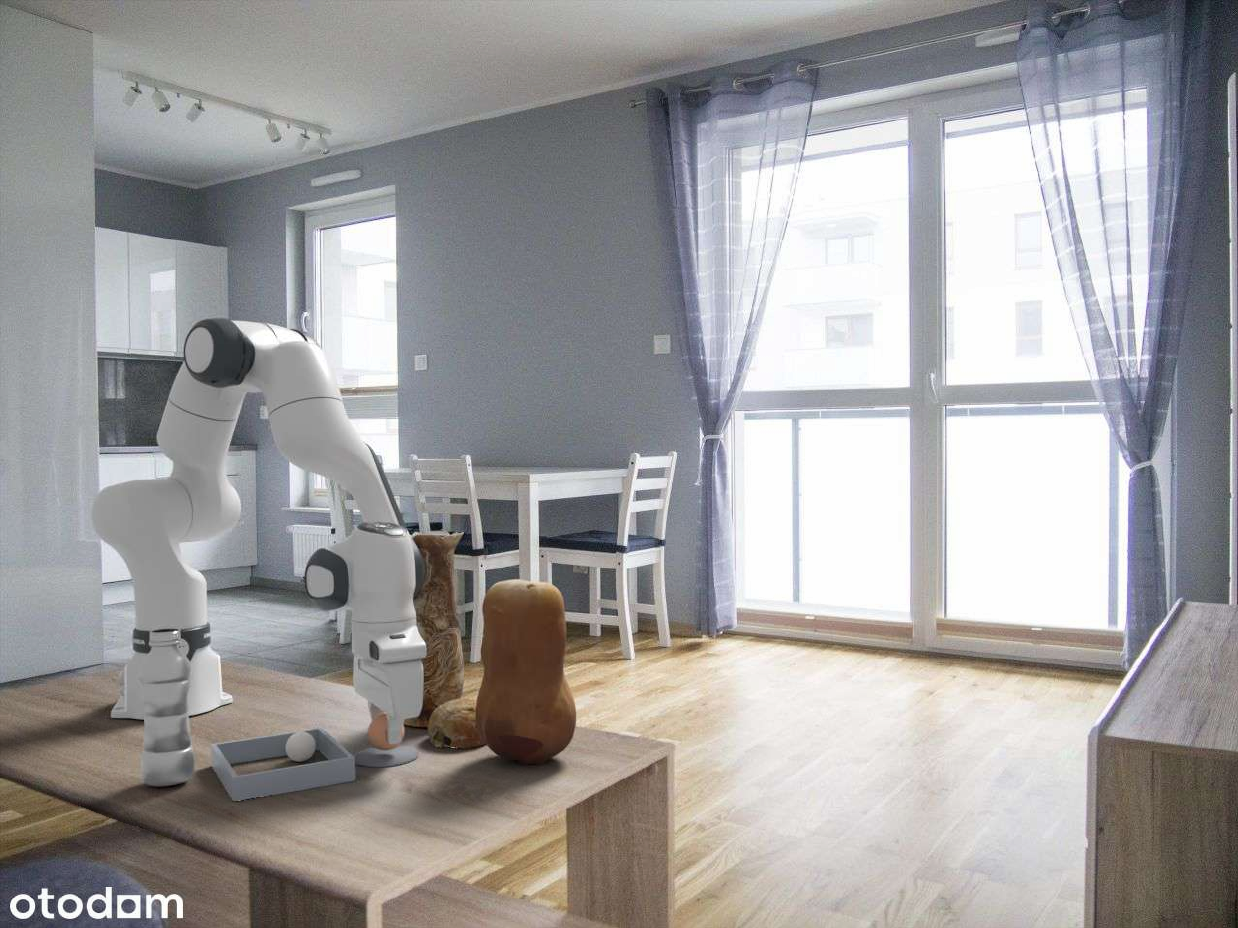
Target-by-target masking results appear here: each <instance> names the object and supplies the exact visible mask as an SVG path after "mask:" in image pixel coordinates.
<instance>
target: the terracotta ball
mask: <svg viewBox="0 0 1238 928" xmlns="http://www.w3.org/2000/svg"><path fill="white" fill-rule="evenodd" d="M404 725H405V724H403V727H402V730H401V742H400V743H397V744H389V743H388V742H387V741H386V734H385V730H386V729H387V726H388V720H387V713H385V714H382V715H379V716H377V717H376V718H375V719H374V720H373V721H372V722H370V724H369V726H368V728H367V737H368V741H369V742H370V743H371V745H372V746H373V748H377V749H379V750H384V751H386V750H391V749H394V748H395V747H397V746H400V745H401V743H402V741H403V740H404V737H405V726H404Z"/></svg>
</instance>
